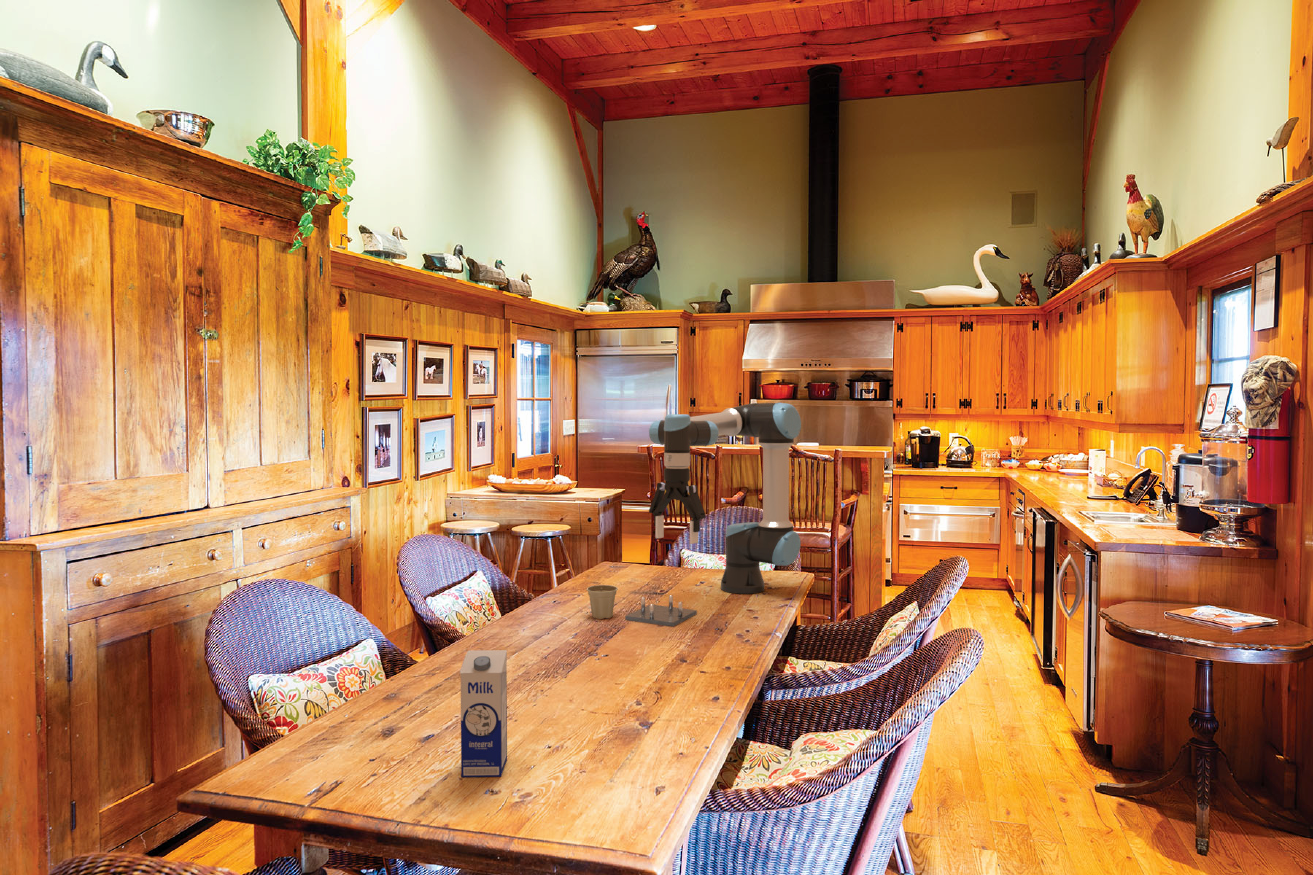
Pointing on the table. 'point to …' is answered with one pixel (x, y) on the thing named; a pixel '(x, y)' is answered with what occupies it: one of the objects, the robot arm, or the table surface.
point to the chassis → (661, 614)
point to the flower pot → (602, 600)
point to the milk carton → (484, 713)
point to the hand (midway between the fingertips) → (676, 540)
